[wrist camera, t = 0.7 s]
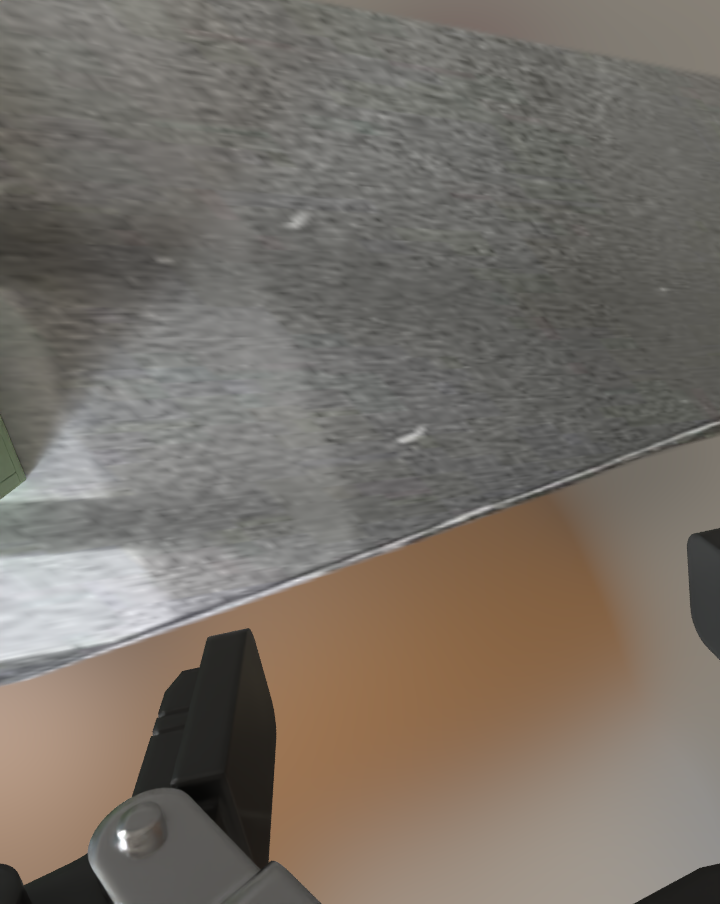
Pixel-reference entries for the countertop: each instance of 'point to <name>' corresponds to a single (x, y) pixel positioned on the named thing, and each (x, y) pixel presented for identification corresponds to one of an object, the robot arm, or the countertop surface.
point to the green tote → (8, 464)
